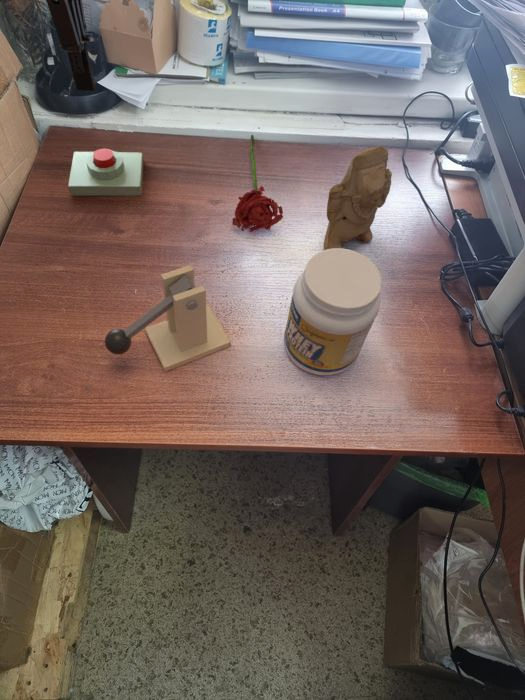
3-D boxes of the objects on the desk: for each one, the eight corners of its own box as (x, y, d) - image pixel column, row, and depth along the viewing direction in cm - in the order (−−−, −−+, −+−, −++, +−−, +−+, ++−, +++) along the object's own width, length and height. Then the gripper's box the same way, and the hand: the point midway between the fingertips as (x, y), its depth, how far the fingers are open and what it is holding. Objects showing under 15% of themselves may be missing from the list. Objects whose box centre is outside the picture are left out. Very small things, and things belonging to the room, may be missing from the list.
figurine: (327, 268, 90) (352, 175, 73) (306, 241, 93) (326, 146, 76) (384, 247, 94) (421, 154, 77) (362, 221, 97) (393, 127, 80)
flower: (240, 167, 113) (245, 249, 94) (220, 129, 107) (220, 209, 87) (278, 149, 111) (291, 230, 91) (260, 109, 104) (269, 187, 84)
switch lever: (120, 362, 72) (104, 355, 69) (112, 343, 74) (96, 335, 71) (203, 299, 70) (190, 289, 67) (193, 280, 72) (179, 270, 68)
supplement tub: (267, 344, 80) (277, 273, 66) (316, 302, 85) (336, 229, 71) (325, 393, 76) (350, 330, 62) (373, 346, 81) (406, 278, 67)
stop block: (70, 195, 95) (65, 178, 91) (76, 161, 100) (71, 143, 97) (141, 195, 96) (138, 178, 93) (143, 161, 101) (141, 144, 98)
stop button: (94, 168, 94) (92, 160, 92) (95, 156, 96) (94, 148, 94) (114, 168, 94) (112, 160, 93) (115, 156, 96) (113, 148, 95)
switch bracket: (164, 372, 76) (155, 318, 64) (145, 332, 80) (133, 274, 68) (230, 345, 79) (233, 290, 68) (209, 308, 83) (208, 250, 71)
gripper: (66, -79, 59) (105, 111, 79) (81, -116, 66) (114, 67, 86) (-1, -83, 58) (55, 110, 78) (22, -120, 65) (68, 65, 85)
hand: (86, 87), depth 82 cm, fingers closed
